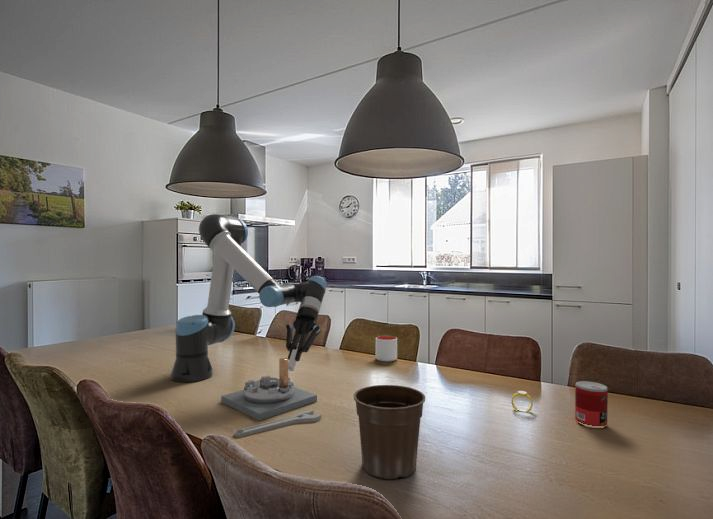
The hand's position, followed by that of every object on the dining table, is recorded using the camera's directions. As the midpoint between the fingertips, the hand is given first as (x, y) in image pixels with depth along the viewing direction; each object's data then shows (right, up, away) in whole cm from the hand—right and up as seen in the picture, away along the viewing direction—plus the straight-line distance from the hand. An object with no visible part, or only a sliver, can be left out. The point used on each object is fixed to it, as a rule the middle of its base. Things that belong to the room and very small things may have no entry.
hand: (290, 368), depth 135 cm
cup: (+36, -10, +53) cm, 65 cm away
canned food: (+89, -11, -19) cm, 91 cm away
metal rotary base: (-7, -8, -2) cm, 11 cm away
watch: (+73, -11, -10) cm, 74 cm away
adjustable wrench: (0, -11, -20) cm, 23 cm away
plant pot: (+29, -11, -43) cm, 53 cm away
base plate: (-7, -10, -2) cm, 12 cm away
